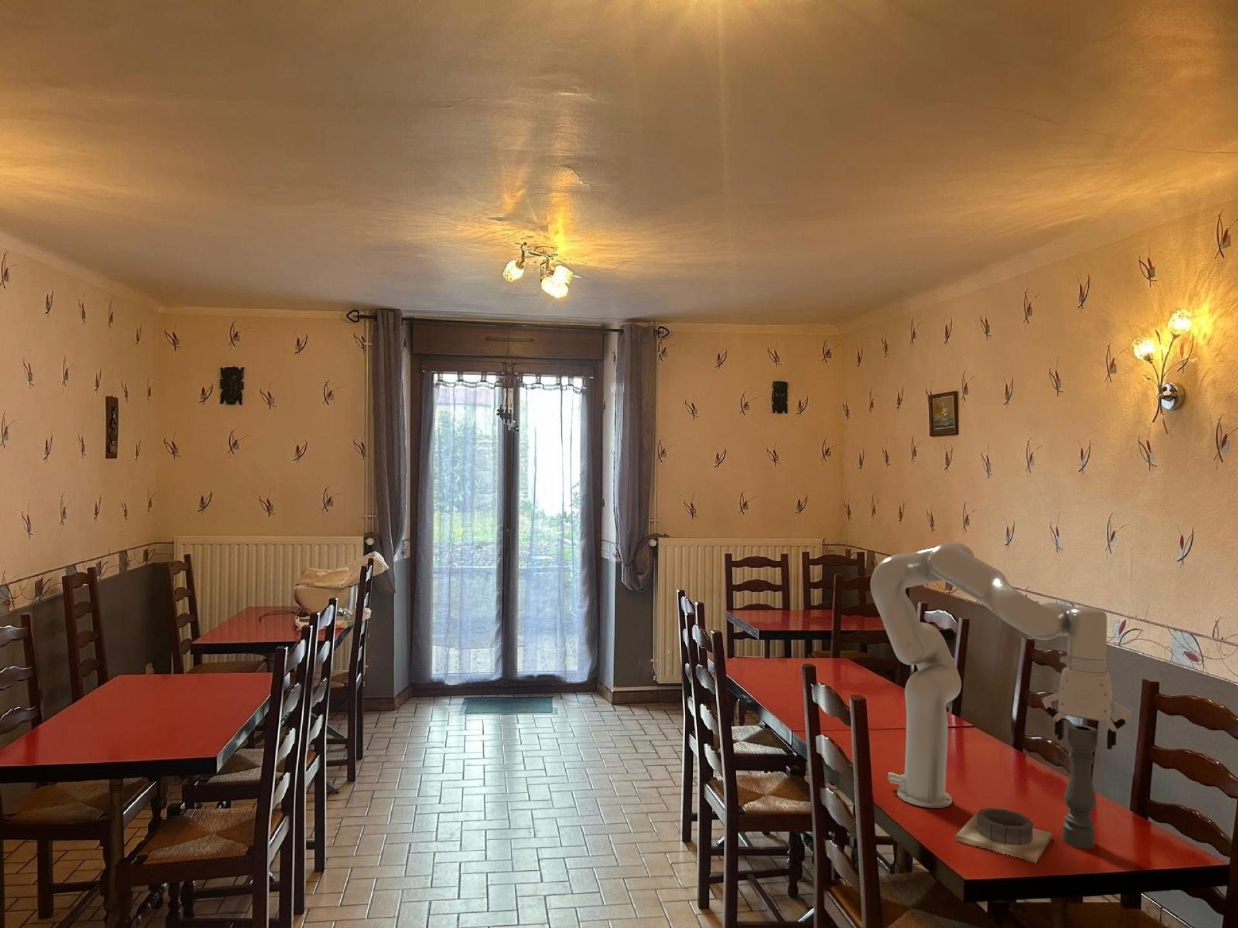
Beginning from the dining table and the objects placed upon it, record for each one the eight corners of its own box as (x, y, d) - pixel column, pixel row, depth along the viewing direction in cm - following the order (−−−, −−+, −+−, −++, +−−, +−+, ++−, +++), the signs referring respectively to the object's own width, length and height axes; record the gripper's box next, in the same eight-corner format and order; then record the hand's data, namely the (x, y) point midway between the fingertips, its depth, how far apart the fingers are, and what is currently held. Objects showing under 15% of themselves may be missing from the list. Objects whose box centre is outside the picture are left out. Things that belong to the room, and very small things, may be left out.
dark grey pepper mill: (1066, 833, 194) (1070, 722, 194) (1097, 842, 190) (1101, 728, 190) (1059, 842, 189) (1064, 727, 189) (1091, 851, 185) (1096, 734, 185)
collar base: (955, 840, 187) (956, 818, 187) (975, 818, 200) (976, 797, 200) (1036, 863, 178) (1037, 840, 178) (1051, 838, 191) (1052, 817, 191)
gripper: (1039, 661, 191) (1038, 739, 191) (1129, 673, 181) (1128, 755, 181) (1046, 656, 197) (1045, 731, 197) (1134, 668, 187) (1132, 747, 187)
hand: (1084, 743), depth 189 cm, fingers open, 9 cm apart
